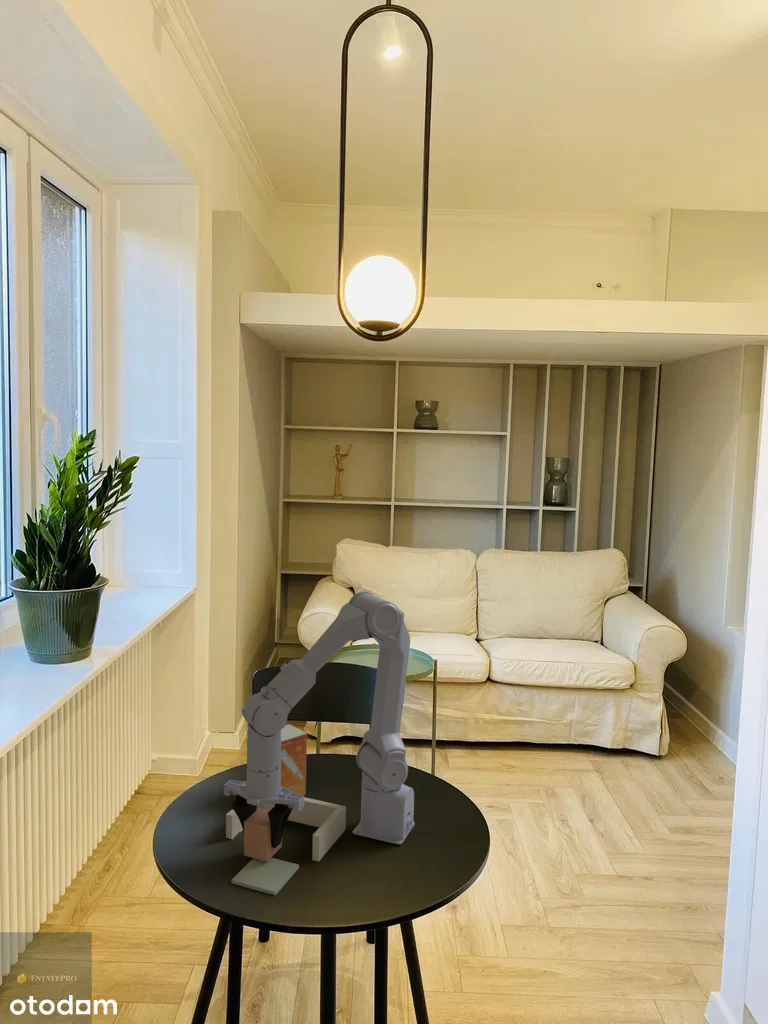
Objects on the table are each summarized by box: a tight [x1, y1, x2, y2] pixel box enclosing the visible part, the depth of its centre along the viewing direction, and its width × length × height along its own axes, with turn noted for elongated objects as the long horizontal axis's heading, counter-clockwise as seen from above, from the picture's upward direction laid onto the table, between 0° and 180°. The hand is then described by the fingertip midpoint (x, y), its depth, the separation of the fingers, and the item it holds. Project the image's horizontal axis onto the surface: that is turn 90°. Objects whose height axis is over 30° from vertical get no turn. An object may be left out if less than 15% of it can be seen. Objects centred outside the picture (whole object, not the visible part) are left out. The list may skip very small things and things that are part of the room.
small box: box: [281, 724, 308, 796], centre depth 146 cm, size 8×6×13 cm
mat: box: [231, 857, 300, 896], centre depth 120 cm, size 8×8×1 cm
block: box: [243, 808, 283, 861], centre depth 124 cm, size 4×5×6 cm
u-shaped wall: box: [225, 796, 347, 862], centre depth 132 cm, size 18×11×4 cm, turn 69°
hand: (263, 841), depth 124 cm, fingers closed on block, 4 cm apart
